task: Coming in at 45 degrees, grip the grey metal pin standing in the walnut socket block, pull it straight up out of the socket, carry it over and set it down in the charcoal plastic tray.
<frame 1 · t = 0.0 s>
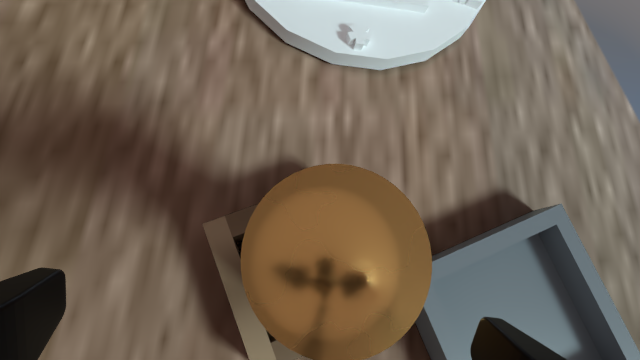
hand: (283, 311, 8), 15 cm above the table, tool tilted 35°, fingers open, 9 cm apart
socket block: (296, 269, 23), on the table
pin: (310, 265, 17), in the socket block
tray: (506, 322, 24), on the table
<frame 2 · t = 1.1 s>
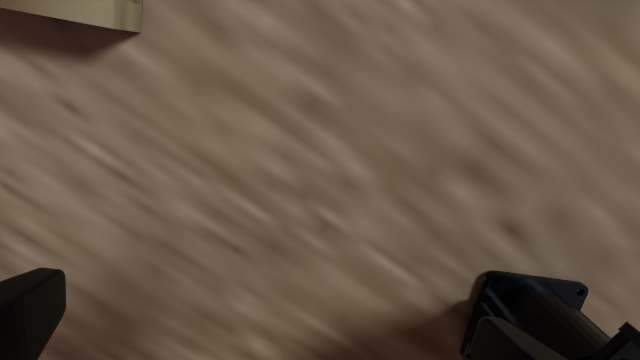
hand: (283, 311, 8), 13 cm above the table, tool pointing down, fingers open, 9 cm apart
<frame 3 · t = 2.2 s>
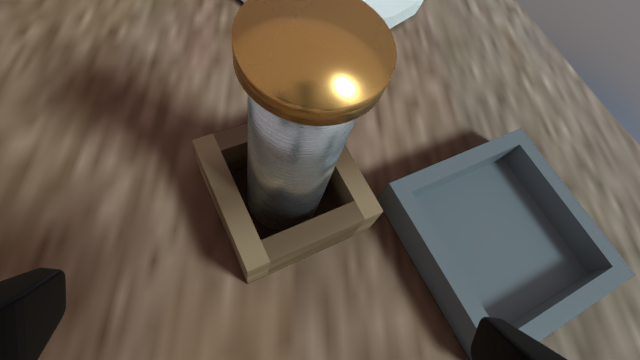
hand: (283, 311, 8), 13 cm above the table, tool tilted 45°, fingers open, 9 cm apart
socket block: (283, 197, 24), on the table
pin: (294, 142, 18), in the socket block
tray: (489, 241, 25), on the table
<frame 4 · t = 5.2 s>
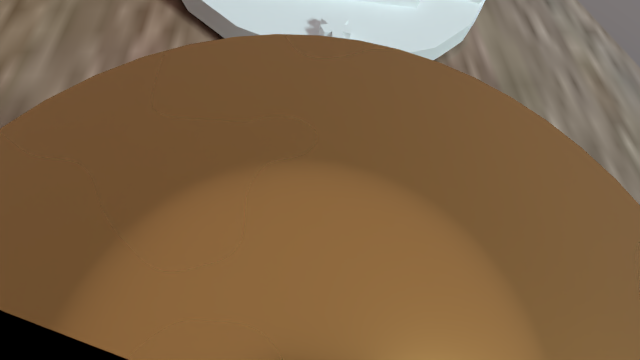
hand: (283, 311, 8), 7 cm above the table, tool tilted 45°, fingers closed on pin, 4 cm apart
when the fingers open (8 cm above the table, at t = 9.2 s): pin stays where it is, resting on tray.
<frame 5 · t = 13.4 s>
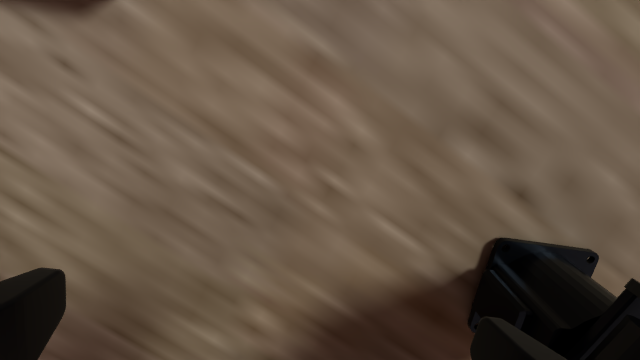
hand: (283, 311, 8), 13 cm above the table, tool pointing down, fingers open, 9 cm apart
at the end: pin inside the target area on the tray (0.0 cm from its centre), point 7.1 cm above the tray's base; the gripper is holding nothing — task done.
